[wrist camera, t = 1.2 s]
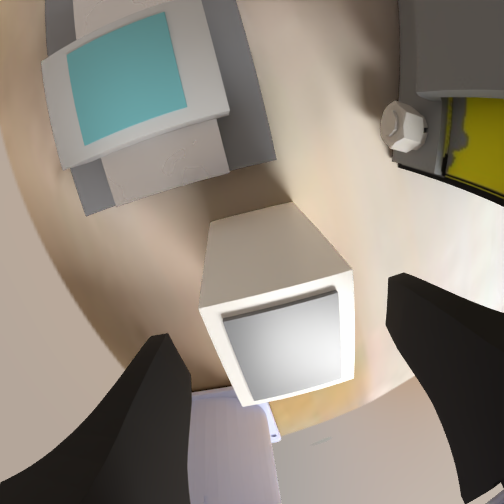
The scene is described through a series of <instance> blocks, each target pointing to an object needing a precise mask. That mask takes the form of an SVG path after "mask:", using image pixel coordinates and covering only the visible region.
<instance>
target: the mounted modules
mask: <svg viewBox="0 0 504 504" xmlns="http://www.w3.org/2000/svg"><path fill="white" fill-rule="evenodd" d="M41 67H42V75H43V83H44V90H45V96H46V102H47V107H48V112H49V118H50V122H51V127H52V131H53V136H54V140H55V144H56V148H57V152H58V156H59V159H60V163H61V166H62V170H63V171H64V170H67V169H70V168H73V167H76V166H79V165H82V164H86V163H89V162H92V161H94V160H97V159H99V158H101V157H103V156H106V155H108V154H111V153H113V152H116V151H118V150H121V149H123V148H126V147H128V146H131V145H134V144H136V143H139V142H142V141H144V140H147V139H150V138H153V137H156V136H159V135H162V134H165V133H168V132H171V131H174V130H177V129H181V128H184V127H187V126H191V125H194V124H198V123H201V122H205V121H209V120H212V119H216V118H220V117H224V116H228V115H229V112H230V109H229V105H228V101H227V97H226V93H225V89H224V85H223V81H222V78H221V74H220V70H219V66H218V62H217V58H216V54H215V50H214V47H213V43H212V39H211V35H210V31H209V27H208V24H207V20H206V16H205V12H204V9H203V5H202V1H201V0H171V1H168V2H165V3H161V4H158V5H155V6H152V7H149V8H147V9H144V10H141V11H138V12H136V13H133V14H131V15H128V16H126V17H123V18H121V19H119V20H116V21H114V22H112V23H109V24H107V25H105V26H103V27H101V28H99V29H97V30H95V31H93V32H91V33H89V34H87V35H85V36H83V37H81V38H79V39H77V40H76V41H74V42H72V43H70V44H69V45H67V46H65V47H63V48H62V49H60V50H59V51H57V52H55V53H54V54H52V55H51V56H49V57H47V58H46V59H44V60H43V61H41Z"/></svg>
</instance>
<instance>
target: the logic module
mask: <svg viewBox="0 0 504 504" xmlns="http://www.w3.org/2000/svg"><path fill="white" fill-rule="evenodd" d="M198 309H199V311H200V314H201V316H202V319H203V321H204V323H205V326H206V328H207V331H208V333H209V335H210V338H211V340H212V342H213V344H214V347H215V349H216V351H217V354H218V356H219V358H220V360H221V362H222V365H223V367H224V369H225V371H226V373H227V376H228V378H229V380H230V382H231V384H232V386H233V388H234V390H235V393H236V395H237V397H238V399H239V401H240V403H241V405H242V407H245V406H251V405H256V404H261V403H266V402H270V401H275V400H279V399H284V398H288V397H292V396H296V395H300V394H304V393H307V392H311V391H315V390H318V389H321V388H325V387H328V386H332V385H335V384H338V383H341V382H344V381H347V380H350V379H353V378H354V352H355V313H354V282H353V269H352V268H351V267H350V266H349V265H348V263H347V262H346V261H345V260H344V259H343V257H342V256H341V255H340V254H339V253H338V252H337V250H336V249H335V248H334V247H333V246H332V245H331V244H330V242H329V241H328V240H327V239H326V238H325V237H324V236H323V234H322V233H321V232H320V231H319V230H318V229H317V228H316V227H315V225H314V224H313V223H312V222H311V221H310V220H309V219H308V218H307V217H306V216H305V214H304V213H303V212H302V211H301V210H300V209H299V208H298V207H297V206H296V205H295V204H294V203H293V202H289V203H284V204H280V205H276V206H272V207H267V208H263V209H259V210H255V211H251V212H247V213H243V214H239V215H235V216H231V217H227V218H223V219H219V220H215V221H212V222H210V227H209V234H208V240H207V247H206V254H205V261H204V269H203V276H202V284H201V291H200V300H199V308H198Z"/></svg>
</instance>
